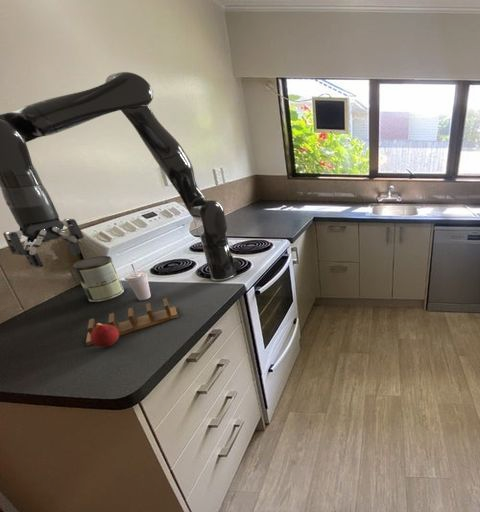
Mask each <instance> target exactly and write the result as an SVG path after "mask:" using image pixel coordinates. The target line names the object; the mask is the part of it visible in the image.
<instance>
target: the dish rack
mask: <svg viewBox="0 0 480 512" xmlns="http://www.w3.org/2000/svg"><path fill="white" fill-rule="evenodd" d="M162 301H163V302H162V303H163V305H164V306H163V307H164V309H161V310H158V311H155V312H154V311H153V308H152V305H151V303H150V302H146V303H145V307H146V313H147V314H145V315H142V316H139V317H137V316H136V313H135V311H134V309H133V307H129V308H127V317H128V320H125V321H122V322H118V319H117V317H116V316H115V313H114V312H112V313H109V314H108V325H112V326H114V327H116V328H117V329H118V331H119V337H120V336H122V335H126V334H129V333H132V332H135V331H138V330H142V329H145V328H147V327H150V326H154V325H158V324H160V323H163V322H164V323H165V322H167V321H170V320H173V319H176V318H178V317H179V315H178V312H177V308H176V306H172V307H170V305H169V302H168V299H167V297H165V298H162ZM96 324H97V322H96V320H95V318H94V317H93V318H89V319H88V324H87V331H88V332H87V334H86V340H85V344H86V345H87V346H91V345H94V344H93V343H92V342H91V339H90V335H91V333H92V331H93V330H94V329H95V328H96V327H97V325H96Z"/></svg>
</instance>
